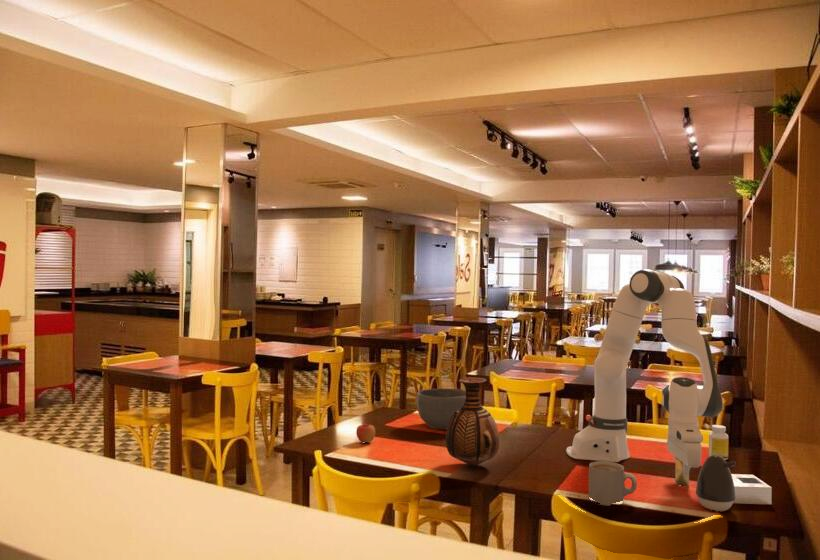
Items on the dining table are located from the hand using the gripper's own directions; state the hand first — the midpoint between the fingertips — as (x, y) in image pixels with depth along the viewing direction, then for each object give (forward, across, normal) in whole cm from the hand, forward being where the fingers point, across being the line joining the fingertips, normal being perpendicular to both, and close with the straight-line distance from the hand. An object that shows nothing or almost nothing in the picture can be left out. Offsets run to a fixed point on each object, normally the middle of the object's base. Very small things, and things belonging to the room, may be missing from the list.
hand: (682, 473), depth 210 cm
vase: (+4, -13, -66) cm, 67 cm away
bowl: (+4, -69, -76) cm, 103 cm away
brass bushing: (+4, 0, 0) cm, 4 cm away
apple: (+4, -40, -106) cm, 113 cm away
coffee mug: (+4, +17, -26) cm, 31 cm away
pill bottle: (+4, -32, +24) cm, 40 cm away
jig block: (+4, +10, +13) cm, 17 cm away
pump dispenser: (+4, +21, +2) cm, 21 cm away
